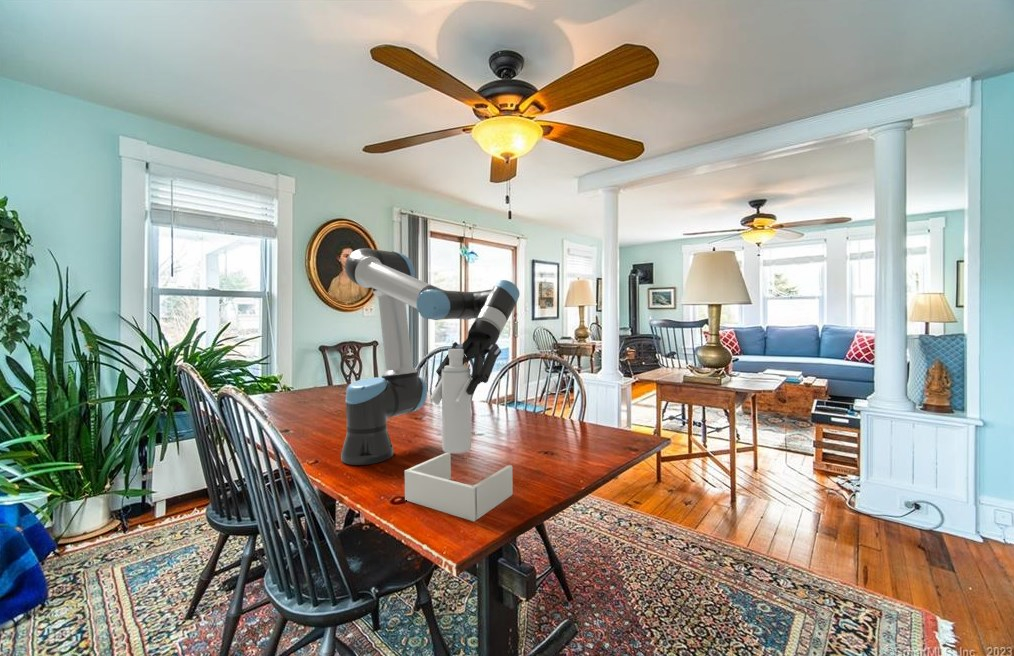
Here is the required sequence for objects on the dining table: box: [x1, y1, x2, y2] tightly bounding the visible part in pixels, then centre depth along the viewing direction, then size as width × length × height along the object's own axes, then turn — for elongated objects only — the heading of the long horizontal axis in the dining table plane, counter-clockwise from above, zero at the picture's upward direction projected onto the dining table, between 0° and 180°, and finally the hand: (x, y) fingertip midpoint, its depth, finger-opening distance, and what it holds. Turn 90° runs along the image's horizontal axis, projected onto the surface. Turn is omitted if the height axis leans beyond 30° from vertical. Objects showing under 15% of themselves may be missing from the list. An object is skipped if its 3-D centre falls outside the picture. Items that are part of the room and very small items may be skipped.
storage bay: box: [404, 452, 514, 522], centre depth 101 cm, size 20×16×7 cm
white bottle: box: [441, 348, 472, 454], centre depth 100 cm, size 7×7×25 cm
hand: (446, 403), depth 97 cm, fingers closed on white bottle, 7 cm apart
